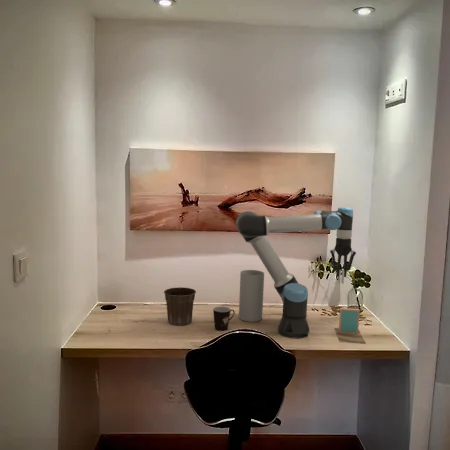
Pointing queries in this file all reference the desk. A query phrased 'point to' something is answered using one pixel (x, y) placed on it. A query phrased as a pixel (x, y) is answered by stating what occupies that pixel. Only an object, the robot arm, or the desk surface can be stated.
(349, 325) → the picture frame
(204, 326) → the desk surface
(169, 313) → the plant pot
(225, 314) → the coffee mug
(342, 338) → the board
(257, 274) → the cylinder vase
